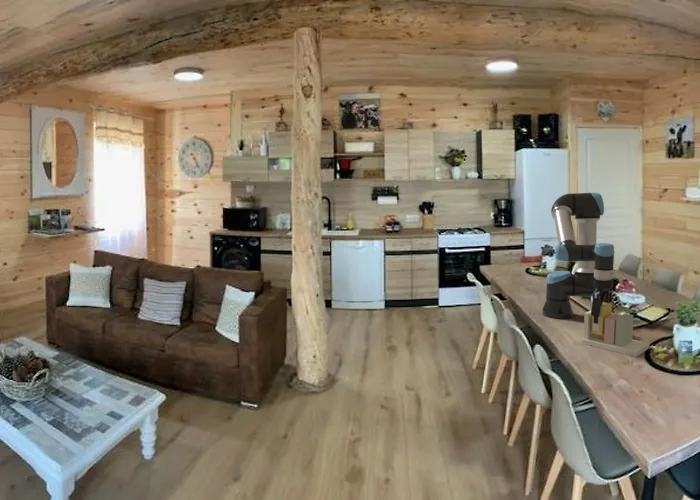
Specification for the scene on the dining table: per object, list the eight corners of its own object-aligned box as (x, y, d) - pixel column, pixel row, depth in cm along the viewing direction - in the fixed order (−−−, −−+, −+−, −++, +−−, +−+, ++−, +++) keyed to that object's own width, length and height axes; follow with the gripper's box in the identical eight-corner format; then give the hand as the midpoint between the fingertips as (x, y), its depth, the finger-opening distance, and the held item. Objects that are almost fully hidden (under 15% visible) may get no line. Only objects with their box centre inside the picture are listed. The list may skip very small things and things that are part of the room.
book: (591, 333, 212) (592, 304, 210) (600, 328, 217) (601, 300, 215) (601, 335, 208) (603, 306, 206) (611, 330, 214) (612, 302, 212)
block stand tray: (582, 343, 213) (583, 313, 211) (597, 335, 222) (598, 306, 219) (635, 356, 196) (637, 324, 194) (649, 347, 204) (651, 316, 202)
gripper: (600, 284, 199) (598, 335, 203) (623, 275, 212) (620, 323, 216) (582, 281, 205) (581, 331, 209) (605, 273, 218) (603, 320, 222)
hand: (601, 327), depth 212 cm, fingers closed on book, 9 cm apart
